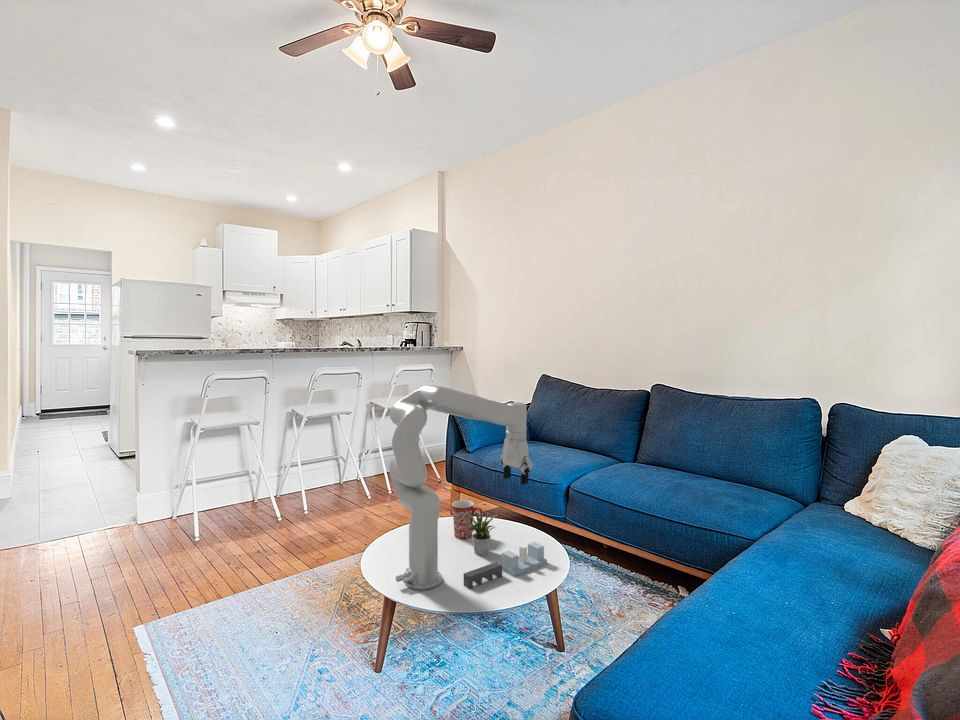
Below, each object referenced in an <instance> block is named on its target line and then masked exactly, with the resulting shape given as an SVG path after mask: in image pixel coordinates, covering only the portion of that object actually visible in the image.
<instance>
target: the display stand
mask: <svg viewBox="0 0 960 720" xmlns="http://www.w3.org/2000/svg"><path fill="white" fill-rule="evenodd" d="M518 549H519V551H518V552H519V555H518V554H517V553H515V552H512V551H511V550H506V551H502V552H501V562H500V563H499V564H501V565H502V572H504V573H506V574H508V575H509V576H511V577H516V576H520V575H522V574H524V573H527V572H530V571H532V570H535V569H537V567H538V568H540V567H542V566H541V565H543V566H545V565H547V564H548V559H547V558H545V554H544V553H545V546H544V545H542V544H540V543H537V542H536V541H532V542H530V543H527V546H526V545H524V544H523V545H519V548H518ZM546 563H547V564H546ZM544 564H545V565H544ZM539 566H540V567H539ZM534 568H535V569H534Z"/></svg>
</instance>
